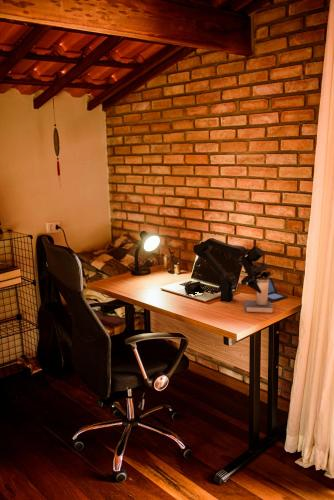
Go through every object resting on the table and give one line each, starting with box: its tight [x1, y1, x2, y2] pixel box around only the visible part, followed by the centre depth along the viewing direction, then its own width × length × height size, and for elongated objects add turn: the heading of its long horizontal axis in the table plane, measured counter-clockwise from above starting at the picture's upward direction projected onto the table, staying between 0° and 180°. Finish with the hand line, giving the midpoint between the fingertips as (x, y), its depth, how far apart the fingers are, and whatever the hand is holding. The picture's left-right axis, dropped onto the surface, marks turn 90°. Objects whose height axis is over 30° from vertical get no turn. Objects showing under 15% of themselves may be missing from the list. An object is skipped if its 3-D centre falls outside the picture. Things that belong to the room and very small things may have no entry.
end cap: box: [184, 281, 206, 295], centre depth 273 cm, size 10×7×7 cm
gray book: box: [243, 299, 274, 314], centre depth 249 cm, size 14×10×3 cm
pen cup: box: [255, 278, 269, 305], centre depth 245 cm, size 6×6×13 cm
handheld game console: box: [267, 277, 289, 303], centre depth 268 cm, size 16×13×9 cm
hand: (264, 291), depth 244 cm, fingers closed on pen cup, 6 cm apart
